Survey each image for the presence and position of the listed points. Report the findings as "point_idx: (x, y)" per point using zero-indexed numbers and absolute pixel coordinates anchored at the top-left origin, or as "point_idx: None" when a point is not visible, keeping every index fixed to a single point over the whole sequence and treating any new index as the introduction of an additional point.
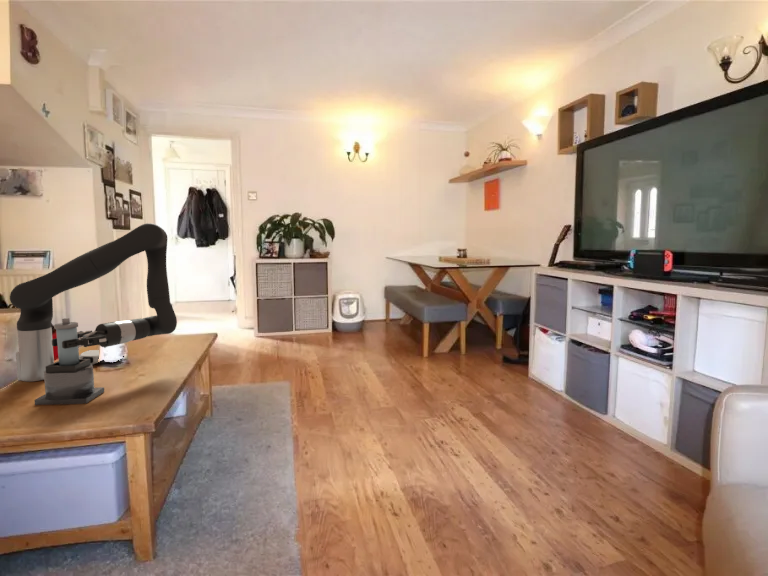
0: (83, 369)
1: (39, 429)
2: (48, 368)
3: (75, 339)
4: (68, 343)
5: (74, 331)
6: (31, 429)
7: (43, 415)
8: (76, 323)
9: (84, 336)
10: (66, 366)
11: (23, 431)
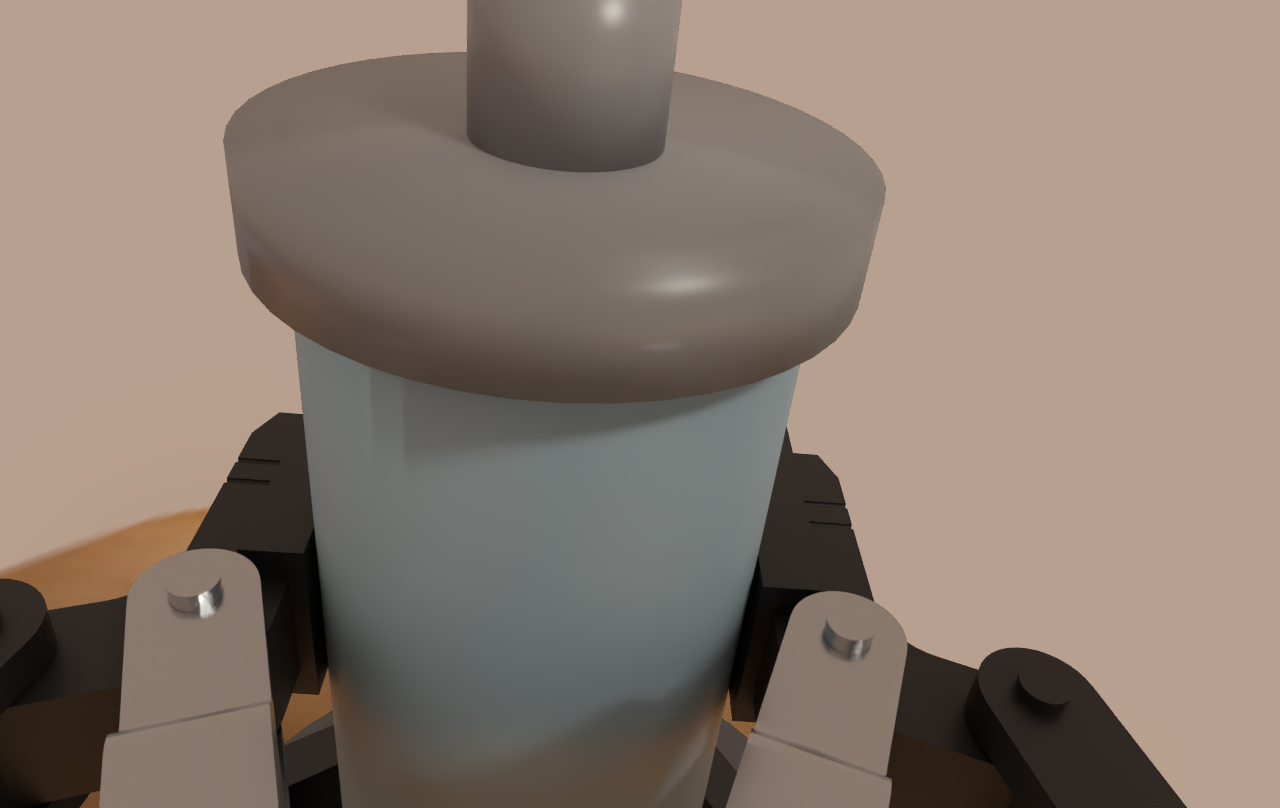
0: None
1: (56, 586)
2: None
3: (250, 530)
4: (261, 452)
5: (302, 374)
6: (120, 569)
7: (289, 725)
8: (306, 193)
9: (195, 723)
10: (332, 731)
11: (148, 540)
